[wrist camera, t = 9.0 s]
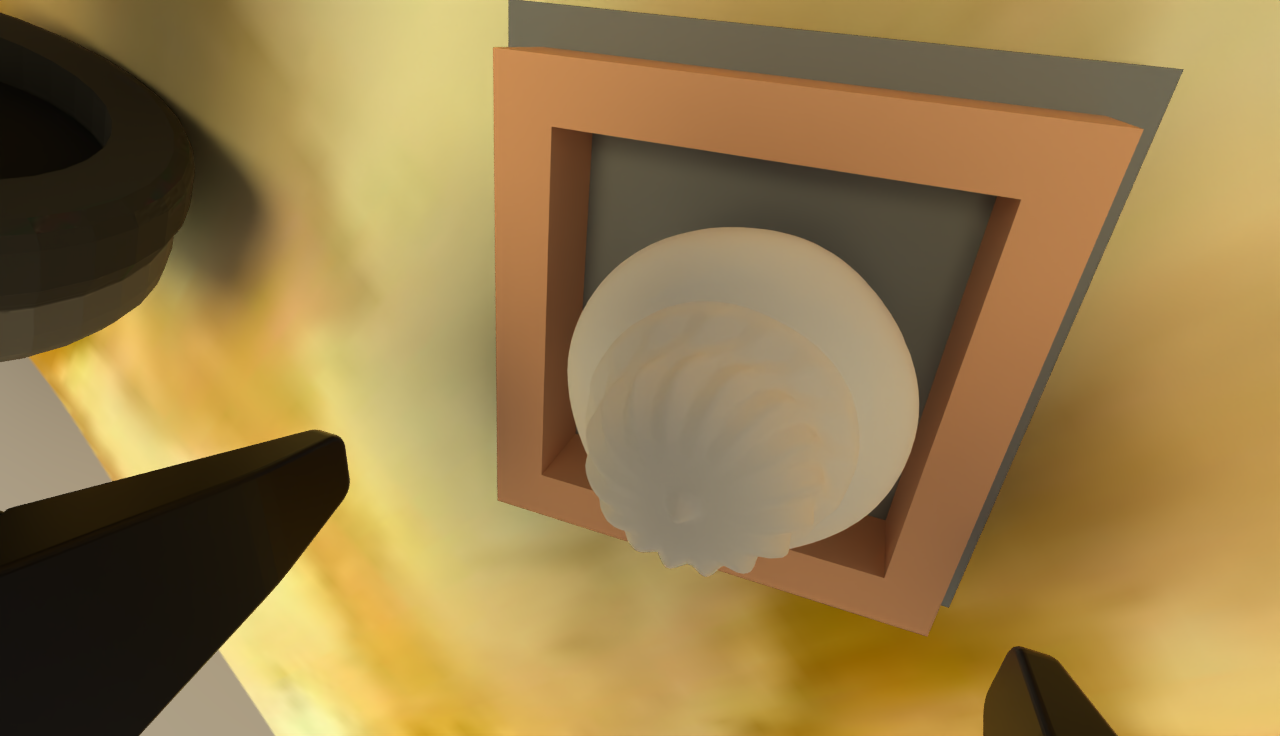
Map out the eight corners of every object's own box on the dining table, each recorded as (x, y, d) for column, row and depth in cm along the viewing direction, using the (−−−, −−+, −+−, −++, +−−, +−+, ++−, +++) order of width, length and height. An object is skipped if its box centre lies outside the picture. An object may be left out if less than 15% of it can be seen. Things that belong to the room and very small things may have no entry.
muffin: (699, 132, 13) (542, 203, 7) (980, 273, 13) (1055, 474, 7) (597, 370, 17) (430, 552, 11) (818, 492, 16) (772, 758, 10)
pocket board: (1152, 66, 12) (1239, 74, 9) (944, 566, 17) (955, 674, 14) (542, 2, 15) (452, -8, 12) (532, 446, 20) (470, 515, 17)
